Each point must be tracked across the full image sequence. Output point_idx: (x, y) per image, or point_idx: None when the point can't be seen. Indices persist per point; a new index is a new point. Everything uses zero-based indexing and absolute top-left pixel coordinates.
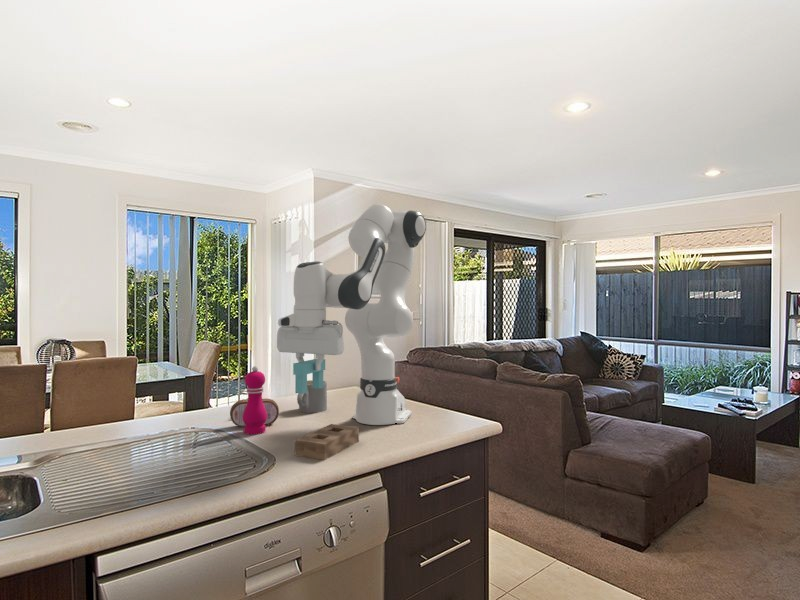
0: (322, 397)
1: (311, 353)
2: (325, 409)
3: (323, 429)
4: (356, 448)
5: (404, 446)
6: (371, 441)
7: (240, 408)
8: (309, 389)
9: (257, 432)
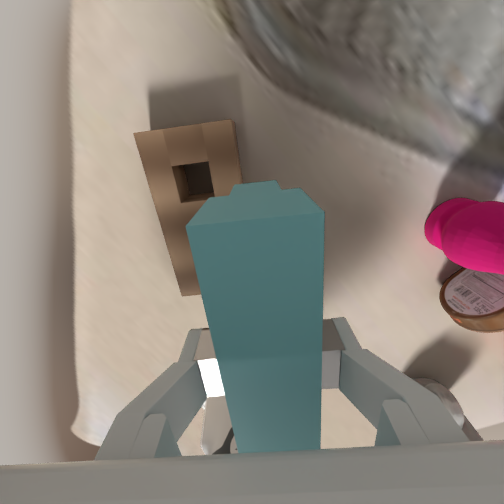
0: None
1: (189, 457)
2: None
3: None
4: (158, 239)
5: (96, 293)
6: (168, 290)
7: None
8: None
9: (435, 211)
